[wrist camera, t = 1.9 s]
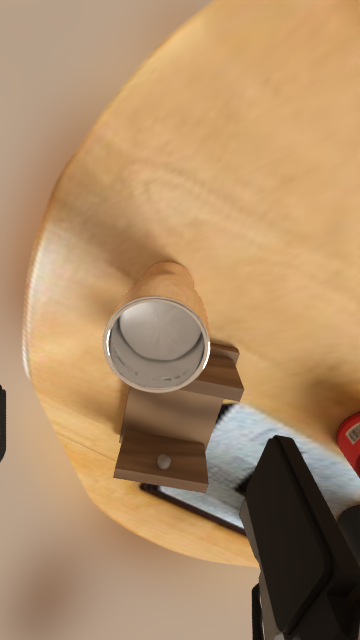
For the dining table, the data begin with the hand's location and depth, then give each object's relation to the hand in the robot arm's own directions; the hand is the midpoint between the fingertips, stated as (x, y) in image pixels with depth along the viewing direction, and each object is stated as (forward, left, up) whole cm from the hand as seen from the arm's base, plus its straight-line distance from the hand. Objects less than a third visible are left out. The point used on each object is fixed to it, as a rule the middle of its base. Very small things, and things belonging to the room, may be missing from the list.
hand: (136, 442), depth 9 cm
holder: (+14, +4, -22) cm, 27 cm away
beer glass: (0, 0, -22) cm, 22 cm away
